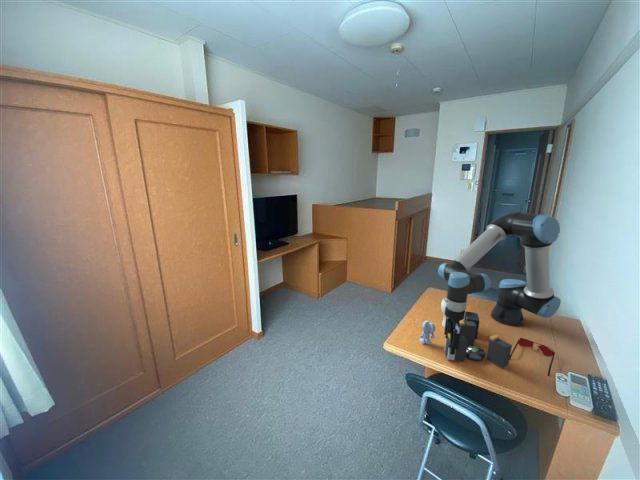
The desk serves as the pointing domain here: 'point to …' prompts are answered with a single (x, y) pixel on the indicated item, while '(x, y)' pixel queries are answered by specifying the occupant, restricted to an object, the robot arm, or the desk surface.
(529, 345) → the glasses
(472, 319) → the box
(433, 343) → the desk surface
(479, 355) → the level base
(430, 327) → the toy figurine
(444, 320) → the cup
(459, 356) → the dark grey block
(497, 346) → the dark grey tan-ended block
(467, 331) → the grey tan block
